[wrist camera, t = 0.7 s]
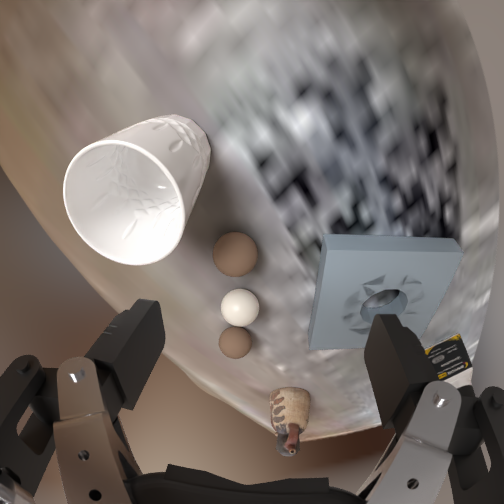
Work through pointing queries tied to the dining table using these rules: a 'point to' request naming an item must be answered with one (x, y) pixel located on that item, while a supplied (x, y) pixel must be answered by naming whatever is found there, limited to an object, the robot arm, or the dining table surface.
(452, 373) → the medicine bottle
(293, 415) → the figurine
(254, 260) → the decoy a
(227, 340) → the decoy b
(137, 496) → the robot arm
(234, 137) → the dining table surface
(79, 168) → the white cup
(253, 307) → the ball
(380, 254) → the blue-grey square plate
